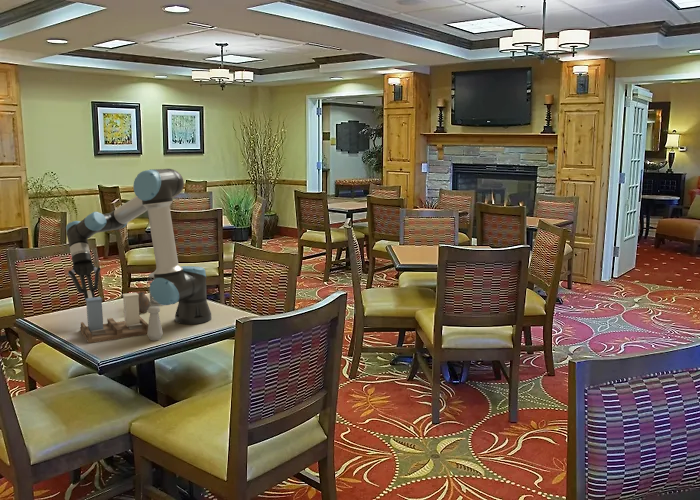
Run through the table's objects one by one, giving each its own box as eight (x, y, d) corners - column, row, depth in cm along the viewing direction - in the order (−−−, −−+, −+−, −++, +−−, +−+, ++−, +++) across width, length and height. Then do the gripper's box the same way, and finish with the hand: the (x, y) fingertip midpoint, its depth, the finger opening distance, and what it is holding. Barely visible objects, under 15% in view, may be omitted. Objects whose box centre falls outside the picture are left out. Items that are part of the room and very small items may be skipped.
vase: (153, 311, 280) (152, 292, 279) (141, 314, 275) (140, 295, 273) (143, 308, 284) (142, 290, 283) (130, 312, 278) (129, 293, 277)
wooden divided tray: (80, 330, 251) (79, 322, 250) (138, 322, 263) (138, 314, 262) (88, 343, 236) (88, 334, 235) (150, 333, 248) (149, 325, 247)
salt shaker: (154, 342, 237) (152, 309, 235) (144, 339, 240) (142, 307, 238) (166, 338, 242) (164, 305, 240) (156, 335, 245) (154, 303, 243)
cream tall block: (124, 324, 254) (122, 294, 252) (137, 322, 257) (136, 292, 254) (126, 327, 250) (124, 296, 248) (140, 325, 253) (138, 294, 251)
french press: (157, 307, 287) (154, 253, 283) (140, 303, 293) (137, 251, 289) (174, 302, 295) (171, 250, 291) (157, 299, 301) (155, 248, 297)
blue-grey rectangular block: (87, 329, 246) (85, 298, 244) (102, 327, 249) (99, 296, 247) (89, 332, 243) (87, 300, 241) (104, 330, 246) (102, 299, 243)
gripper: (96, 258, 271) (106, 307, 263) (63, 261, 264) (73, 312, 255) (98, 250, 265) (109, 300, 257) (65, 253, 258) (75, 304, 250)
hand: (91, 306), depth 256 cm, fingers closed
